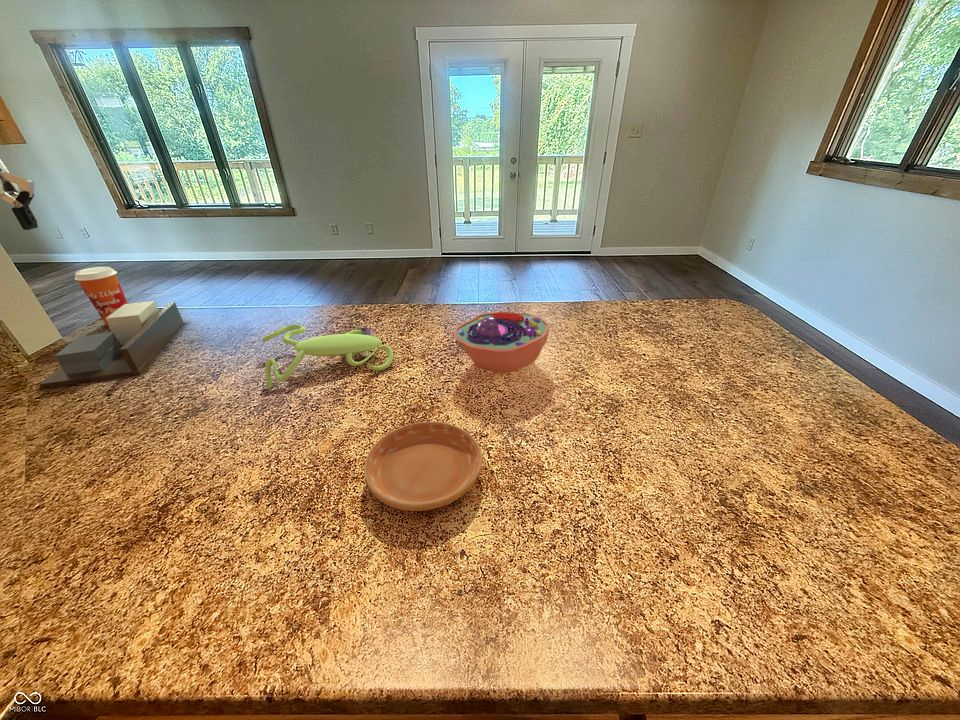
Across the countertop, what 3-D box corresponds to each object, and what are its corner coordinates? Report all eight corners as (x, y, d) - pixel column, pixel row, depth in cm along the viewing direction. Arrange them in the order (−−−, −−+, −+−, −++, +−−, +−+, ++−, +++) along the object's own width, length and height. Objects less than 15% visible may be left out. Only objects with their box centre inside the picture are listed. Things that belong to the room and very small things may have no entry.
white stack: (117, 345, 86) (108, 328, 83) (136, 328, 93) (127, 312, 91) (151, 341, 87) (143, 324, 85) (166, 325, 95) (159, 309, 93)
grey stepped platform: (41, 388, 73) (22, 361, 70) (109, 332, 94) (97, 309, 91) (140, 374, 77) (126, 348, 74) (184, 323, 98) (174, 302, 95)
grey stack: (64, 375, 75) (51, 356, 73) (89, 353, 82) (78, 335, 80) (103, 370, 76) (92, 351, 74) (125, 349, 84) (115, 331, 82)
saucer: (392, 429, 61) (390, 415, 60) (490, 440, 59) (490, 425, 58) (346, 512, 48) (341, 496, 46) (470, 531, 45) (469, 514, 44)
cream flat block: (110, 327, 84) (105, 318, 83) (129, 312, 91) (124, 303, 90) (142, 324, 85) (137, 314, 84) (158, 309, 93) (154, 300, 92)
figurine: (271, 346, 87) (264, 324, 84) (390, 333, 93) (387, 311, 90) (251, 391, 71) (241, 365, 69) (395, 371, 77) (392, 347, 74)
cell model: (565, 367, 78) (572, 317, 72) (484, 398, 69) (483, 343, 63) (516, 336, 90) (518, 291, 85) (441, 359, 81) (438, 310, 76)
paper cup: (100, 332, 94) (69, 277, 87) (103, 321, 100) (74, 269, 93) (139, 324, 98) (113, 271, 91) (140, 314, 104) (115, 263, 97)
